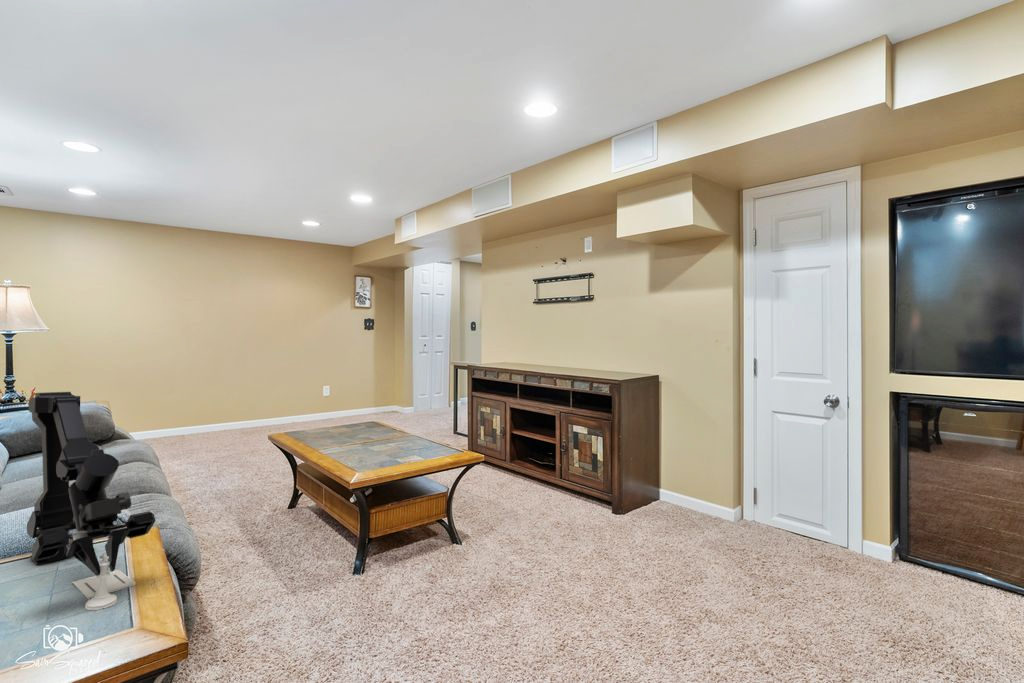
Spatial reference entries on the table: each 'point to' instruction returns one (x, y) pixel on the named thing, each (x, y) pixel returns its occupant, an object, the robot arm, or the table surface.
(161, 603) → the table surface
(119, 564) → the table surface
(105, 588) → the chess piece
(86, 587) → the slotted cream plate
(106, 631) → the table surface
